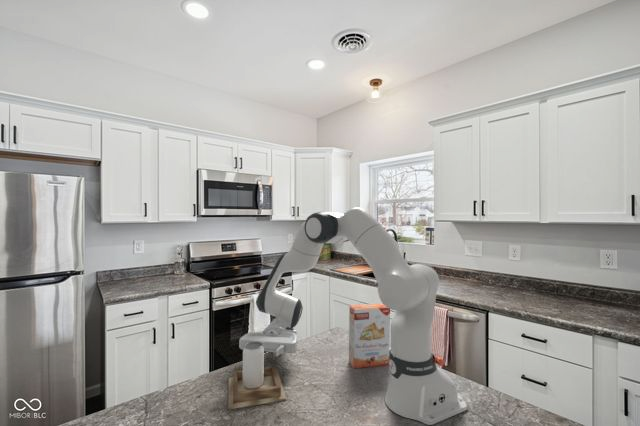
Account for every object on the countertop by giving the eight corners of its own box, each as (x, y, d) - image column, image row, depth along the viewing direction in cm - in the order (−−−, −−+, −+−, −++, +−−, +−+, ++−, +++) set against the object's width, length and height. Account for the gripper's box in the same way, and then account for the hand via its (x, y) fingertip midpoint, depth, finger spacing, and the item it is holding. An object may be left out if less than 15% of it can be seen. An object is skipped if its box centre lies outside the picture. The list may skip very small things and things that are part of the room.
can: (260, 390, 90) (260, 350, 90) (239, 389, 91) (239, 349, 91) (265, 379, 96) (266, 341, 97) (246, 377, 97) (247, 340, 97)
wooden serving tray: (278, 372, 102) (278, 363, 102) (285, 400, 86) (285, 389, 86) (229, 379, 97) (229, 369, 97) (228, 409, 82) (228, 398, 82)
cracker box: (353, 369, 104) (354, 309, 105) (348, 361, 110) (348, 304, 111) (390, 365, 107) (390, 307, 108) (383, 357, 113) (383, 302, 114)
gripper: (247, 325, 112) (231, 340, 99) (300, 329, 109) (291, 345, 95) (247, 342, 112) (231, 359, 98) (300, 347, 109) (291, 365, 95)
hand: (261, 352), depth 97 cm, fingers open, 8 cm apart
